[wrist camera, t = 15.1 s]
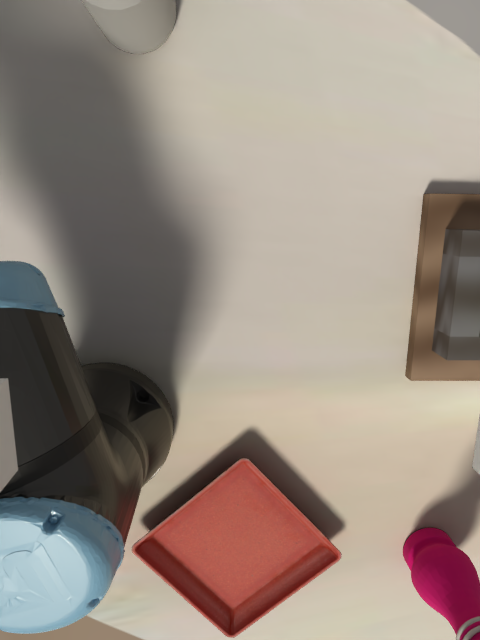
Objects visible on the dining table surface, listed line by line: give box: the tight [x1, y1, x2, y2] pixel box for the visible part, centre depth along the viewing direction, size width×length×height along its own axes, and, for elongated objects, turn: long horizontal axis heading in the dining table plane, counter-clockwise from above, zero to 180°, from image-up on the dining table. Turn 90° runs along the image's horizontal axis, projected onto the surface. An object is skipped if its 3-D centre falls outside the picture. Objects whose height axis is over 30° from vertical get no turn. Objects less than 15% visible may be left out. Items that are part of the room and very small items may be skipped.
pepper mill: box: [403, 528, 480, 640], centre depth 47 cm, size 7×7×20 cm
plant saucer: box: [132, 458, 342, 638], centre depth 55 cm, size 18×18×3 cm
